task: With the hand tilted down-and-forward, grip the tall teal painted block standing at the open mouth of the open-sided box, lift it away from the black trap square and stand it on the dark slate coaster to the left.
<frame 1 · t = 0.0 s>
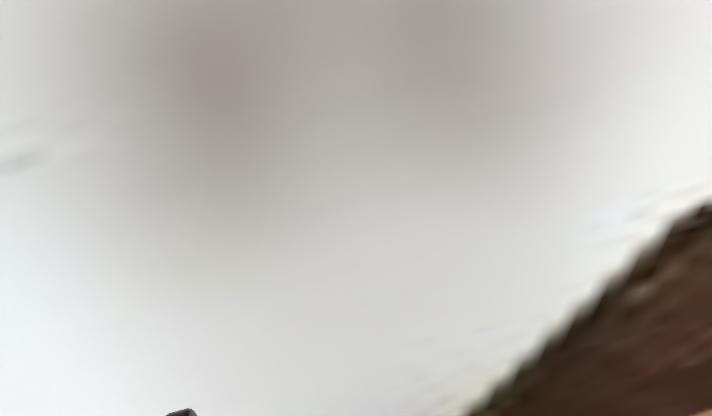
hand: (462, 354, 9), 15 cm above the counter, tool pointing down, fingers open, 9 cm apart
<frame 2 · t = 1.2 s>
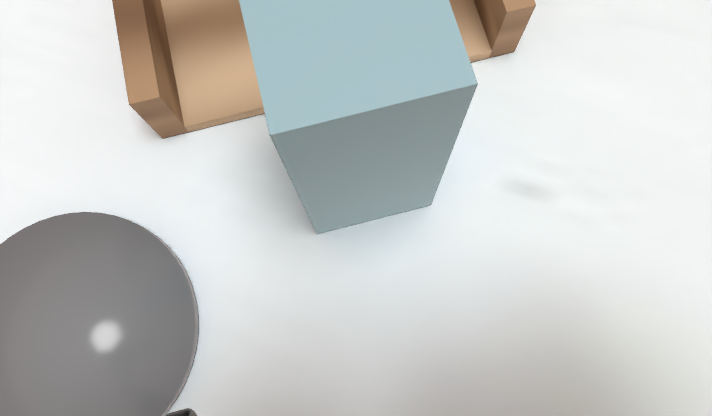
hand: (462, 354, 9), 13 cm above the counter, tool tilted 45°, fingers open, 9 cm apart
block: (359, 165, 24), on the counter
coaster: (77, 334, 23), on the counter
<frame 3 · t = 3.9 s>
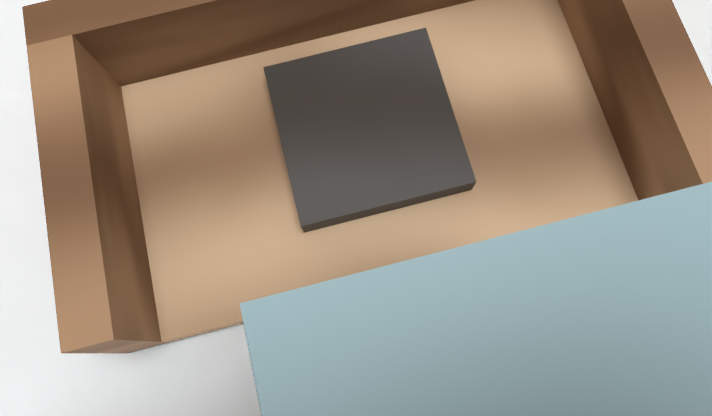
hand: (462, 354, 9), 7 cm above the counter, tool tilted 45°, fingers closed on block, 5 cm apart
open-sided box: (365, 114, 16), on the counter
block: (440, 404, 15), on the counter, touching gripper
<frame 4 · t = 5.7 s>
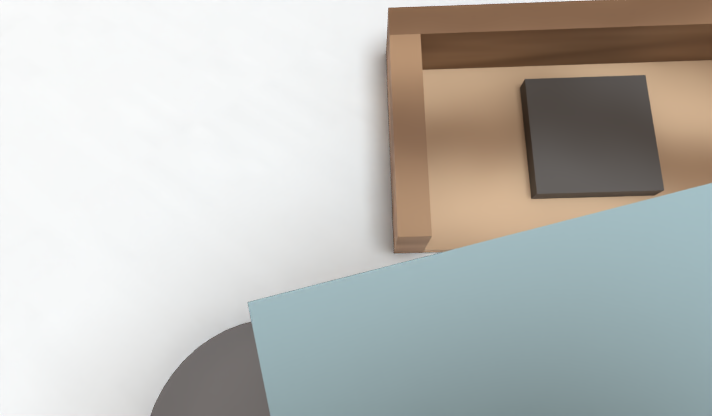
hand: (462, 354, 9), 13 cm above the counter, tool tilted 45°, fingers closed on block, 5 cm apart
open-sided box: (595, 127, 22), on the counter
block: (439, 400, 15), point 6 cm above the counter, touching gripper
when the fingers open (8 cm above the counter, at t = 7.6 s): block stays where it is, resting on coaster.
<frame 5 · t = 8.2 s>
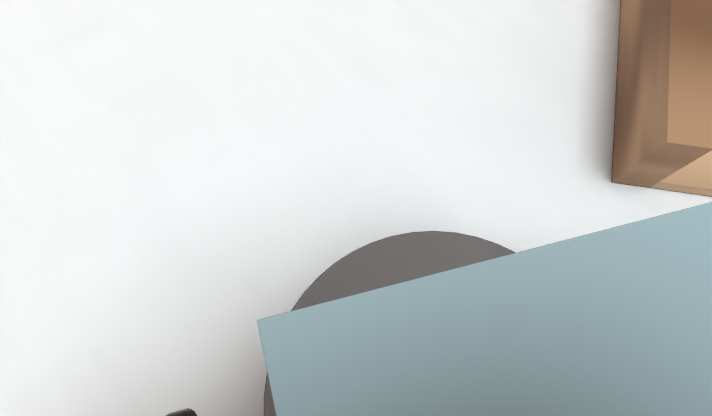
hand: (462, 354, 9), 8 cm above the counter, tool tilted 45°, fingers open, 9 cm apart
block: (438, 405, 16), point 1 cm above the counter, touching coaster
coaster: (435, 400, 16), on the counter
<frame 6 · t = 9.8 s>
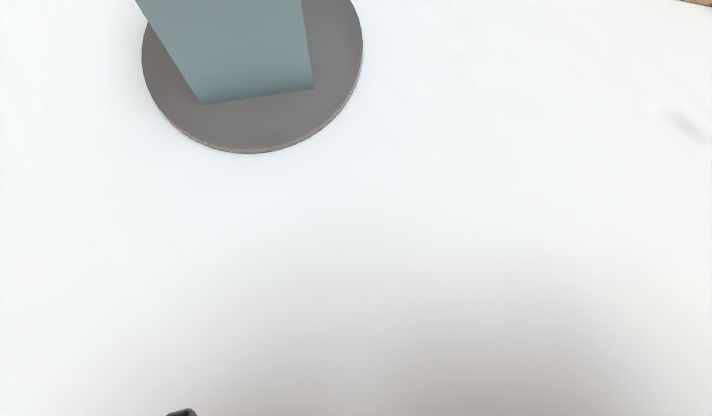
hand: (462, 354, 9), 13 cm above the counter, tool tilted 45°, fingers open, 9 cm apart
block: (252, 47, 25), point 1 cm above the counter, touching coaster
coaster: (254, 52, 26), on the counter
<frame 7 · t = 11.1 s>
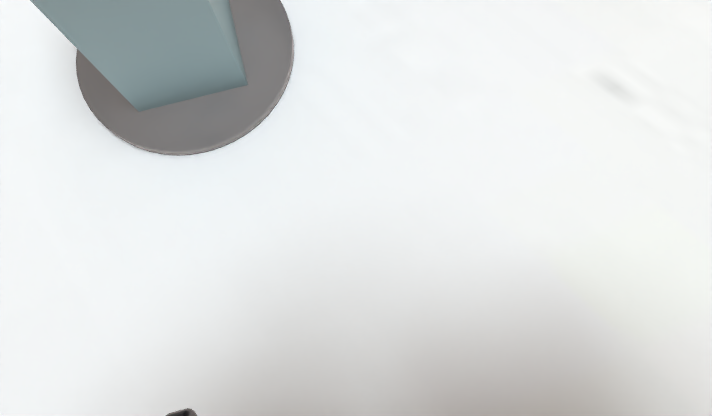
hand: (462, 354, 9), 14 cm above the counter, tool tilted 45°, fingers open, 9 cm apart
block: (184, 50, 25), point 1 cm above the counter, touching coaster
coaster: (188, 54, 26), on the counter
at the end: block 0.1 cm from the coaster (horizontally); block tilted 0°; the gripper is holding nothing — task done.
